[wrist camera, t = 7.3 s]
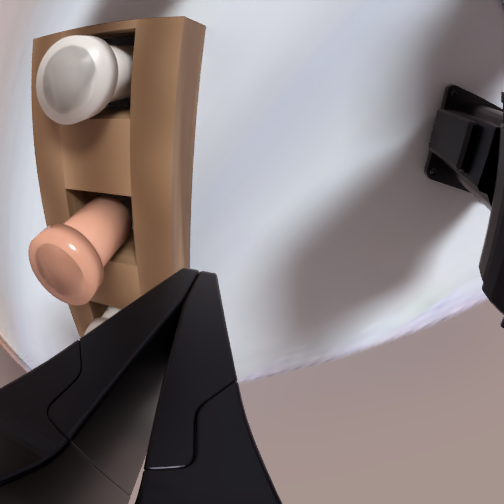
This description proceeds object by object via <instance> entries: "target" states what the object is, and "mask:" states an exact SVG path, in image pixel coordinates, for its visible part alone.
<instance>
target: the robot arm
mask: <svg viewBox="0 0 504 504" xmlns="http://www.w3.org/2000/svg"><path fill="white" fill-rule="evenodd" d="M452 89H454V91H455V94H454V95H453V96H452V94H451V90H452ZM501 102H502V103H503V109H501V108H499V107H497V106H496V105H494V104H492V103H490V102H488V101H486V100H484V99H483V98H481V97H479V96H477V95H475V94H473V93H471V92H469V91H466V90H464V89H462V88H460V87H458V86H456V85H451V84H450V85H448V86H447V87H446V89H445V93H444V97H443V102H442V106H441V109H440V110H439V111H438V113H437V117H436V121H435V125H434V129H433V133H432V136H431V140H430V144H429V148H430V152H429V156H428V159H427V162H426V166H425V170H424V172H425V174H426V176H427V177H428V178H430V179H432V180H435V181H438V182H441V183H444V184H447V185H450V186H453V187H456V188H459V189H462V190H465V191H468V192H470V193H472V194H473V195H474V196H475V197H476V198H478V199H479V200H480V201H481V202H482V203H483V204H484V205H485V206H486V207H487V208H488V209H489V210H490V211H491V213H490V218H489V223H488V228H487V233H486V237H485V241H484V246H483V250H482V254H481V258H480V263H479V269H480V273H481V277H482V280H483V282H484V283H483V286H482V290H483V292H484V293H485V294H486V296H487V297H488V299H489V300H490V302H491V303H492V304H493V305H494V306H495V307H496V308H497V309H498V310H499V311H500V313H502V314H503V315H504V92H501ZM431 169H434V172H433V173H432V174H430V170H431ZM501 327H503V328H504V317H503V319H502V322H501ZM146 453H147V455H146ZM145 456H146V460H145V465H144V470H145V471H144V472H143V476H142V480H141V484H140V489H139V492H138V496H137V499H136V502H135V504H282V502H281V500H280V498H279V496H278V494H277V492H276V490H275V487H274V485H273V483H272V480H271V478H270V476H269V474H268V471H267V469H266V467H265V465H264V462H263V460H262V457H261V455H260V453H259V450H258V448H257V445H256V443H255V440H254V438H253V435H252V432H251V429H250V426H249V423H248V421H247V417H246V414H245V410H244V406H243V402H242V398H241V394H240V389H239V385H238V383H237V376H236V371H235V367H234V362H233V357H232V352H231V347H230V342H229V337H228V332H227V327H226V322H225V316H224V311H223V306H222V300H221V295H220V290H219V284H218V279H217V275H216V274H215V273H210V272H205V271H201V272H200V273H199V271H198V270H194V269H189V268H182V269H180V270H179V271H178V272H176V273H175V274H173V275H172V276H170V277H169V278H167V279H166V280H164V281H163V282H161V283H160V284H158V285H157V286H155V287H154V288H152V289H151V290H149V291H148V292H146V293H145V294H143V295H142V296H141V297H139V298H138V299H136V300H135V301H133V302H132V303H130V304H129V305H127V306H126V307H124V308H123V309H122V310H120V311H119V312H117V313H116V314H114V315H113V316H111V317H110V318H109V319H107V320H106V321H104V322H103V323H101V324H100V325H98V326H97V327H96V328H94V329H93V330H91V331H90V332H88V333H87V334H86V335H84V336H83V337H81V338H80V341H79V340H77V341H75V342H74V343H73V344H71V345H70V346H68V347H67V348H66V349H64V350H63V351H61V352H60V353H58V354H57V355H55V356H54V357H52V358H51V359H49V360H48V361H46V362H45V363H43V364H41V365H40V366H38V367H36V368H35V369H33V370H31V371H30V372H28V373H26V374H24V375H23V376H21V377H19V378H18V379H16V380H14V381H12V382H10V383H9V384H7V385H5V386H3V387H2V388H0V504H128V502H129V500H130V495H131V494H132V491H133V488H134V486H135V483H136V480H137V477H138V475H139V472H140V469H141V467H142V464H143V461H144V459H145Z"/></svg>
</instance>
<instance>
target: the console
mask: <svg viewBox="0 0 504 504" xmlns="http://www.w3.org/2000/svg"><path fill="white" fill-rule="evenodd" d="M205 29H206V26H205V25H202V24H200V23H198V22H196V21H193V20H191V19H189V18H187V17H184V16H180V17H158V18H145V19H134V20H125V21H117V22H110V23H104V24H98V25H92V26H86V27H81V28H76V29H72V30H67V31H63V32H59V33H55V34H51V35H47V36H43V37H40V38H36V39H33V53H32V120H33V135H34V147H35V156H36V165H37V173H38V180H39V186H40V192H41V198H42V204H43V209H44V214H45V219H46V224H47V226H49V225H51V224H55V223H61V224H64V223H65V222H66V221H67V220H68V219H69V218H70V217H72V216H73V215H74V214H75V213H76V212H77V211H79V210H80V209H81V208H82V207H83V206H85V205H86V204H87V203H88V202H89V201H91V200H92V199H93V198H94V197H96V196H98V195H99V193H107V194H115V195H123V196H131V200H132V216H133V229H134V231H131V233H130V235H129V237H128V238H127V239H126V240H125V241H124V243H123V244H122V245H121V246H120V247H119V249H118V250H117V251H116V252H115V254H114V255H113V256H112V257H111V259H110V260H109V261H108V262H107V264H106V265H105V266H104V267H103V269H104V278H103V282H102V284H101V286H100V287H99V288H98V290H97V291H96V293H95V294H94V295H93V297H92V298H91V300H90V301H89V302H88V303H86V304H84V305H71V304H68V305H69V308H70V310H71V313H72V316H73V319H74V322H75V324H76V327H77V330H78V332H79V335H80V337H83V336H84V333H85V331H86V330H87V328H88V326H89V325H90V323H91V322H92V320H93V319H95V318H98V317H102V316H103V314H104V312H105V311H106V309H107V308H108V306H112V307H115V308H119V309H123V308H124V307H126V306H127V305H129V304H130V303H132V302H133V301H135V300H136V299H138V298H139V297H141V296H142V295H143V294H145V293H146V292H148V291H149V290H151V289H152V288H154V287H155V286H157V285H158V284H160V283H161V282H163V281H164V280H166V279H167V278H169V277H170V276H172V275H173V274H175V273H176V272H178V271H179V270H180V269H182V268H189V269H190V221H191V194H192V173H193V155H194V140H195V126H196V114H197V102H198V91H199V81H200V71H201V62H202V53H203V45H204V37H205ZM74 35H82V36H95V37H99V38H101V39H106V38H114V37H123V36H134V35H135V41H134V52H133V64H132V79H131V101H130V108H127V107H112V108H104V109H103V110H102V111H101V112H100V113H98V114H97V115H95V116H93V117H91V118H88V119H86V120H83V121H80V122H78V123H75V124H69V125H64V124H59V123H57V122H55V121H53V120H51V119H50V118H49V117H48V116H47V115H46V114H45V113H44V111H43V110H42V108H41V106H40V104H39V101H38V97H37V92H36V78H37V72H38V68H39V66H40V63H41V61H42V59H43V57H44V55H45V54H46V52H47V51H48V50H49V49H50V47H51V46H52V45H54V44H55V43H56V42H57V41H59V40H61V39H63V38H65V37H68V36H74Z"/></svg>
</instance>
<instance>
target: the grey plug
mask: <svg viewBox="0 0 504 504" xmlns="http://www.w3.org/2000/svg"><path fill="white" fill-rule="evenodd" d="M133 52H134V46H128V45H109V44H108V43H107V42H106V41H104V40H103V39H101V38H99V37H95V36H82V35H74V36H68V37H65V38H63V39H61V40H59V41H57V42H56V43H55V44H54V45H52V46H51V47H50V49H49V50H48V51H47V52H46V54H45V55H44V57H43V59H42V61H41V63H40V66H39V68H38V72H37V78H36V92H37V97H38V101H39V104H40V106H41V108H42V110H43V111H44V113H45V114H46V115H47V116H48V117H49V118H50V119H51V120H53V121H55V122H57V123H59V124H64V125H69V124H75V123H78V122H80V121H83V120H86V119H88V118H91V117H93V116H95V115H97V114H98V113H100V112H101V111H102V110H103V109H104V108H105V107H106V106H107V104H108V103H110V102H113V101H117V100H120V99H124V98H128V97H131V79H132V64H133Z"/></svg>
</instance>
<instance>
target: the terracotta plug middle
mask: <svg viewBox="0 0 504 504" xmlns="http://www.w3.org/2000/svg"><path fill="white" fill-rule="evenodd" d="M131 230H132V219H131V216H130V213H129V211H128V209H127V208H126V206H125V205H124V204H123V203H122V202H121V201H120V200H118V199H117V198H115V197H113V196H110V195H104V194H103V195H98V196H96V197H94V198H93V199H92V200H91V201H89V202H88V203H87V204H86V205H85V206H83V207H82V208H81V209H80V210H79V211H77V212H76V213H75V214H74V215H73V216H72V217H70V218H69V219H68V220H67V221H66V222H65V223H64V224H61V223H55V224H51V225H49V226H47V227H46V228H45V229H44V230H43V231H42V232H41V233H39V234H38V235H37V236H36V237H35V238H34V239H33V240H32V241H31V243H30V246H29V261H30V264H31V267H32V270H33V272H34V274H35V275H36V277H37V279H38V280H39V282H40V283H41V284H42V285H43V287H44V288H45V289H46V290H47V291H48V292H49V293H51V294H52V295H53V296H54V297H56V298H57V299H59V300H61V301H63V302H65V303H68V304H71V305H84V304H86V303H88V302H89V301H90V300H91V298H92V297H93V295H94V294H95V293H96V291H97V290H98V288H99V287H100V286H101V284H102V282H103V278H104V269H103V267H104V266H105V265H106V264H107V262H108V261H109V260H110V259H111V257H112V256H113V255H114V254H115V252H116V251H117V250H118V249H119V247H120V246H121V245H122V244H123V243H124V241H125V240H126V239H127V238H128V237H129V235H130V233H131Z"/></svg>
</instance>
